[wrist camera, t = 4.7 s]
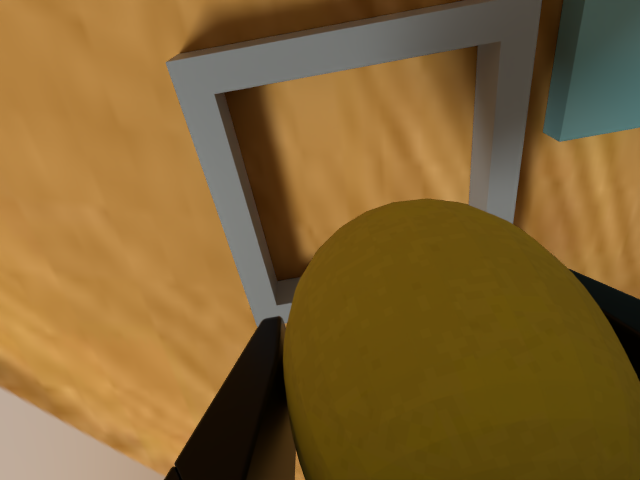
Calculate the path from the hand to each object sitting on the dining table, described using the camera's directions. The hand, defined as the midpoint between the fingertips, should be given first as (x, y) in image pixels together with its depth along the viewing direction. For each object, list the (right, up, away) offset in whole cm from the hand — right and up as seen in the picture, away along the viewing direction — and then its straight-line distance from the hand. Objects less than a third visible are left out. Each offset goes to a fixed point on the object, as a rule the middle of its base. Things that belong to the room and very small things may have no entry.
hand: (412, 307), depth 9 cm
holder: (0, +4, +6) cm, 7 cm away
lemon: (0, +2, +2) cm, 3 cm away
